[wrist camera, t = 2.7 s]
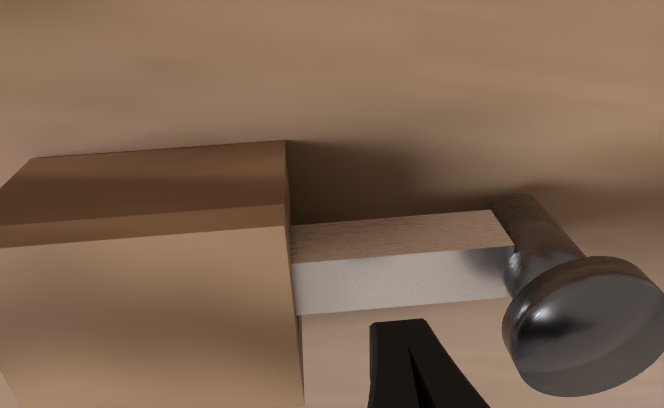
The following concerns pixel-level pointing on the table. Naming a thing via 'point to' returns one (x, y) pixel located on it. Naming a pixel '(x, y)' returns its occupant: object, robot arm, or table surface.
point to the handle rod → (493, 287)
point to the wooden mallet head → (151, 280)
